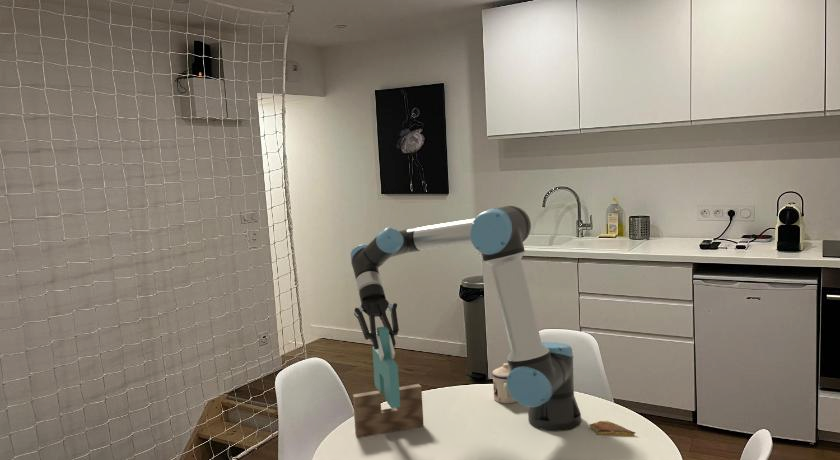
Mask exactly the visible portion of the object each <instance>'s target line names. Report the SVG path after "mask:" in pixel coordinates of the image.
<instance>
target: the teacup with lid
mask: <svg viewBox="0 0 840 460" xmlns="http://www.w3.org/2000/svg"><path fill="white" fill-rule="evenodd" d="M509 373H510V368H509V364H508V362H505V363H503V364H502V366H500V367H497V368H495V369H493V371H492V377H493V378H492V381H493V383H492V385H493V399H494V401H495V402H497V403H499V404H514V403H515V404H516V403H518V402H517V401H515V400H514V399H513V398H512V397H511V395H510V394H509V392H508V389H507V384H506V383H507V377H508V375H509Z"/></svg>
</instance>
